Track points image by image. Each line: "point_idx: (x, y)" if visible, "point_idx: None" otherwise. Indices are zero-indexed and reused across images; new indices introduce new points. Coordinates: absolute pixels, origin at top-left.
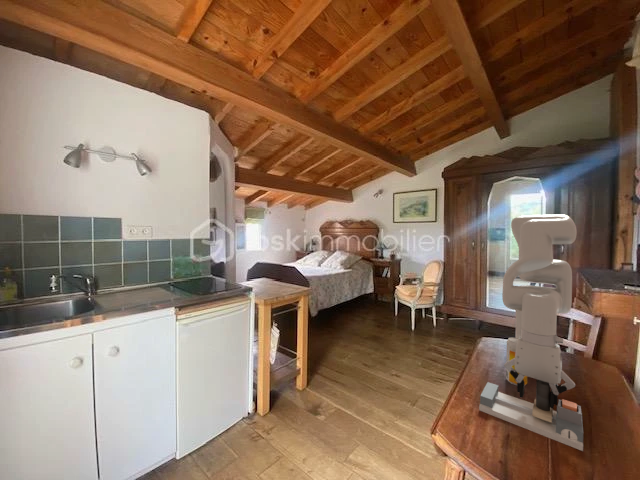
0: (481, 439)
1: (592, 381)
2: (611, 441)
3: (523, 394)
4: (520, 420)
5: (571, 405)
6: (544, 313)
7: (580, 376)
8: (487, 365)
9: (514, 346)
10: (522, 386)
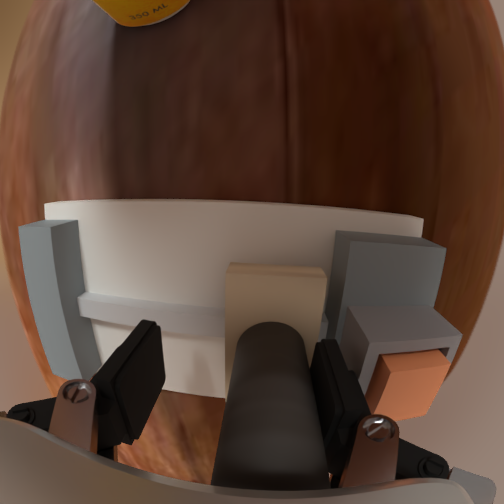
0: (145, 453)
1: None
2: (465, 264)
3: (160, 358)
4: (194, 391)
5: (412, 408)
6: None
7: None
8: None
9: None
10: (138, 433)
